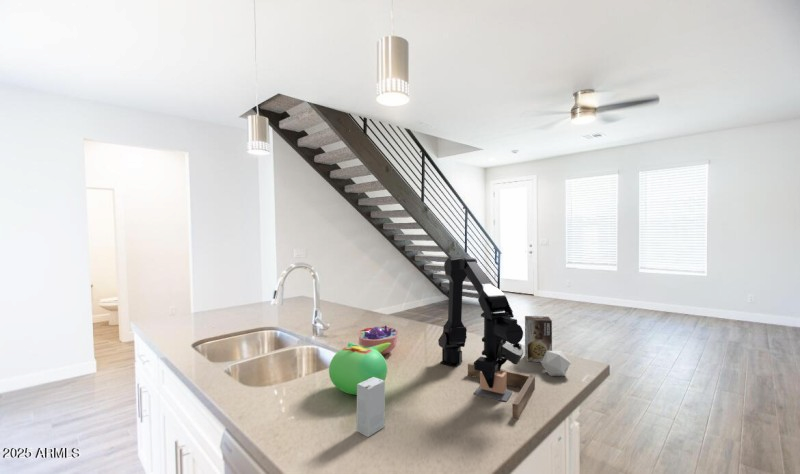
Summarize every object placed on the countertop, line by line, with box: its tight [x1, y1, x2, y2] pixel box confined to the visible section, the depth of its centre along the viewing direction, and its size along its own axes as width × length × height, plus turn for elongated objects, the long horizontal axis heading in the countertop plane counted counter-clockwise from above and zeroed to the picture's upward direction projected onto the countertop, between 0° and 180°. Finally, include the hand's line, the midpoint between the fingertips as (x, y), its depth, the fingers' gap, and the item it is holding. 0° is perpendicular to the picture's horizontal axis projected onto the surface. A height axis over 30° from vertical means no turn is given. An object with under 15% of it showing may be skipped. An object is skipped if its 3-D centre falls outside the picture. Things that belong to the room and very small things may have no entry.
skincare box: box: [356, 377, 386, 438], centre depth 91 cm, size 6×4×12 cm
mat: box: [473, 385, 514, 403], centre depth 111 cm, size 10×7×1 cm
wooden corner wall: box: [467, 362, 536, 421], centre depth 111 cm, size 22×22×4 cm
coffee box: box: [524, 315, 553, 363], centre depth 140 cm, size 9×6×16 cm
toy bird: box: [328, 341, 391, 396], centre depth 112 cm, size 18×17×15 cm
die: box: [540, 350, 571, 377], centre depth 126 cm, size 8×9×10 cm
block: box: [479, 371, 508, 394], centre depth 111 cm, size 4×7×5 cm, turn 59°
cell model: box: [357, 325, 399, 356], centre depth 148 cm, size 17×20×11 cm
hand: (493, 385), depth 111 cm, fingers closed on block, 4 cm apart
